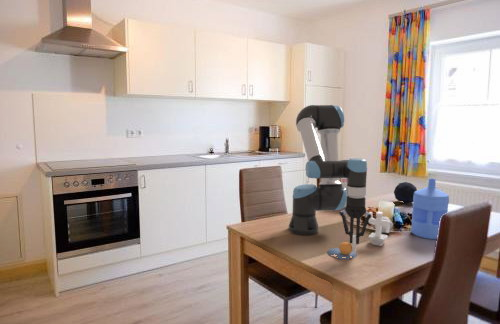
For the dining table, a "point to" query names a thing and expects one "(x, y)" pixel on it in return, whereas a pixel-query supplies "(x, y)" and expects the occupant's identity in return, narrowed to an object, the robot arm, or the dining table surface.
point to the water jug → (428, 210)
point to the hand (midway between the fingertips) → (354, 250)
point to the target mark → (339, 254)
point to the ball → (345, 248)
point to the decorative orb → (405, 192)
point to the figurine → (378, 229)
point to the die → (384, 226)
